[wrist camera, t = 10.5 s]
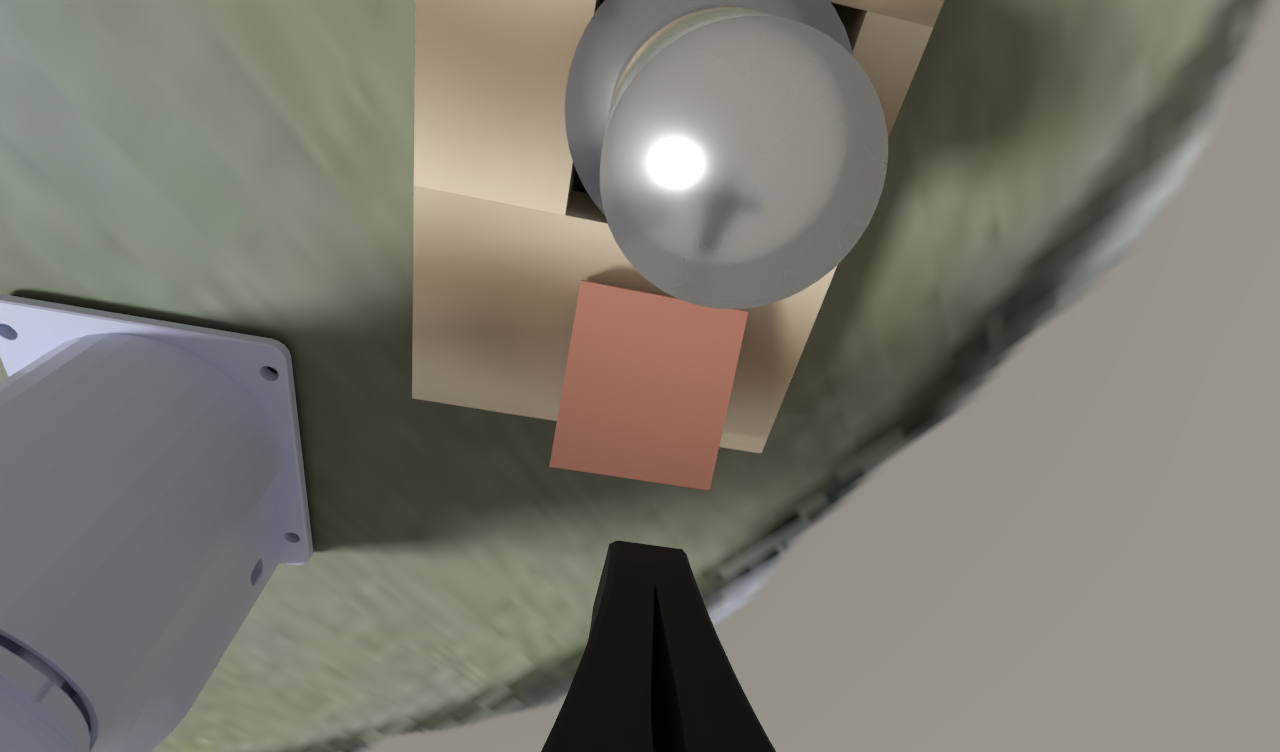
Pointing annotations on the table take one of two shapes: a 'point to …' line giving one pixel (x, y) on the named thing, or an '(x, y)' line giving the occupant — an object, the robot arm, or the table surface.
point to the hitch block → (563, 209)
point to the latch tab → (646, 386)
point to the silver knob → (726, 143)
